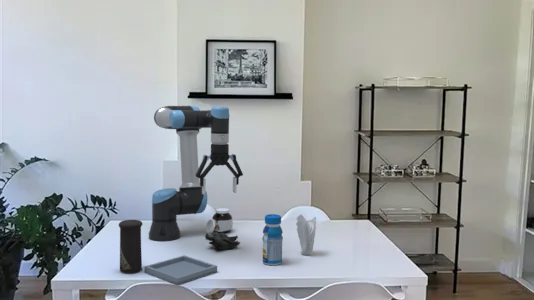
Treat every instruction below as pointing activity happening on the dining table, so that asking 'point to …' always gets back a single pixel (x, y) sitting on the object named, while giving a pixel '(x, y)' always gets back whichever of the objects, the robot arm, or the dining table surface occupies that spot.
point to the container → (130, 246)
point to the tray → (180, 269)
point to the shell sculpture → (306, 234)
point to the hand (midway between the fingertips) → (219, 193)
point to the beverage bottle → (272, 240)
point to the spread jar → (220, 222)
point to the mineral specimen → (222, 240)
